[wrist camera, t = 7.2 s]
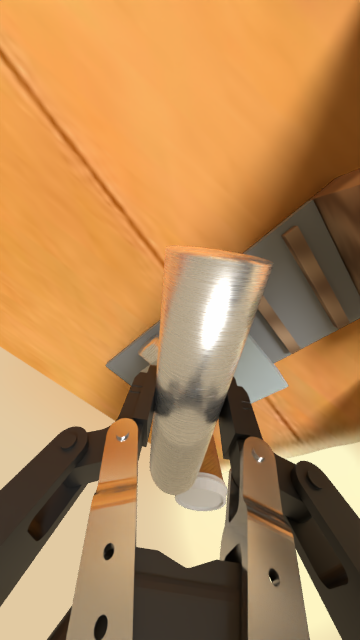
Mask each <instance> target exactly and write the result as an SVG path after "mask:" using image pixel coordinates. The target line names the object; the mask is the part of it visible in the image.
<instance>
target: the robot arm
mask: <svg viewBox="0 0 360 640" xmlns="http://www.w3.org/2000/svg"><path fill="white" fill-rule="evenodd" d="M156 372H157V366H156V365H150V366H149V369H148V372H147V373H145V372H140V373H139V374H138V375H137V376H136V377H135V378H134V380H133V383H132V386H131V388H130V390H129V393H128V395H127V398H126V400H125V403H124V405H123V407H122V410H121V412H120V415H119V417H118V419H117V420H116V421H115V422H114V423H113V424H112V425H111V426H109V427H107V428H105V429H102V430H97V431H92V432H86V431H85V429H83V428H81V427H71V428H68V429H66V430H64V431H62V432H61V433H60V434H59V435H57V436H56V437H55V438H54V439H53V440H52V441H51V442H50V443H49V444H48V445H47V446H46V447H45V448H44V449H43V450H42V451H41V452H40V453H39V454H38V455H37V456H36V457H35V458H34V459H33V460H31V461H30V463H28V464H27V465H26V466H25V467H24V468H23V469H22V470H21V471H20V472H19V473H18V474H17V475H16V476H15V477H14V478H13V479H12V480H11V481H10V482H9V483H8V484H7V485H5V487H3V488H2V489H1V490H0V606H1V605H2V604H3V602H4V600H5V599H6V598H7V597H8V595H9V594H10V592H11V591H12V590H13V588H14V587H15V585H16V584H17V582H18V581H19V580H20V578H21V577H22V575H23V574H24V573H25V571H26V570H27V568H28V567H29V566H30V564H31V563H32V561H33V560H34V559H35V557H36V556H37V554H38V553H39V551H40V550H41V549H42V547H43V546H44V545H45V543H46V542H47V540H48V539H49V537H50V536H51V535H52V533H53V532H54V530H55V529H56V528H57V526H58V525H59V523H60V522H61V520H62V519H63V518H64V516H65V515H66V514H67V512H68V511H69V509H70V508H71V507H72V505H73V504H74V502H75V501H76V499H77V498H78V497H79V495H80V494H81V492H82V491H83V490H84V488H85V487H86V485H87V484H88V483H91V482H94V481H98V480H99V481H98V487H97V490H96V493H95V494H94V496H93V500H92V504H91V508H90V514H89V519H88V524H87V529H86V535H85V540H84V546H83V551H82V556H81V562H80V567H79V572H78V578H77V583H76V588H75V594H74V599H73V605H72V606H71V608H70V609H69V611H68V612H67V613H66V615H65V616H64V617H63V619H62V620H61V621H60V623H59V624H58V625H57V627H56V628H55V630H54V631H53V632H52V634H51V635H50V636H49V638H48V639H47V640H310V638H309V632H308V625H307V619H306V613H305V607H304V600H303V594H302V587H301V581H300V575H299V568H298V562H297V556H296V550H297V552H298V554H299V556H300V558H301V560H302V562H303V564H304V566H305V568H306V569H307V571H308V574H309V575H310V577H311V579H312V581H313V583H314V585H315V587H316V589H317V591H318V593H319V595H320V597H321V599H322V601H323V603H324V604H325V607H326V608H327V611H328V612H329V615H330V617H331V619H332V621H333V622H334V624H335V626H336V628H337V630H338V632H339V634H340V636H341V638H342V640H360V518H359V517H358V516H357V515H356V513H355V512H354V511H353V509H352V508H351V507H350V506H349V504H348V503H347V502H346V501H345V500H344V498H343V497H342V495H341V494H340V493H339V492H338V490H337V489H336V488H335V486H333V484H332V483H331V481H330V480H329V479H328V477H327V476H326V475H325V474H324V473H323V472H322V471H321V470H320V469H319V468H318V467H317V466H315V465H314V464H312V463H310V462H307V461H300V462H298V463H297V464H293V463H292V462H290V461H288V460H286V459H284V458H282V457H280V456H278V455H276V454H275V453H274V452H273V451H272V449H271V448H270V447H269V445H268V444H267V443H266V442H264V441H263V438H262V436H261V433H260V430H259V427H258V424H257V421H256V417H255V414H254V411H253V408H252V405H251V404H250V399H249V396H248V393H247V392H246V391H245V389H244V388H243V387H242V386H237V383H236V379H235V377H233V378H232V381H231V384H230V387H229V390H228V392H227V395H226V398H225V401H224V403H223V406H222V409H221V412H220V415H219V417H218V419H219V427H220V435H221V443H222V451H223V459H229V460H230V464H231V469H230V471H229V481H228V494H227V507H226V508H227V509H226V520H225V527H224V531H223V535H222V541H221V551H220V560H214V561H211V562H208V563H205V564H201V565H198V566H195V567H192V568H185V567H183V566H182V565H180V564H178V563H177V562H175V561H174V560H172V559H171V558H169V557H167V556H166V555H164V554H163V553H161V552H160V551H157V550H151V549H144V548H138V547H136V526H137V520H136V519H137V477H138V460H139V456H140V451H141V448H142V446H144V447H146V446H147V442H148V437H149V433H150V428H151V424H152V419H153V415H154V408H155V394H156ZM295 548H296V550H295ZM269 577H270V578H271V581H272V583H271V581H270V579H269Z"/></svg>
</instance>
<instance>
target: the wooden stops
mask: <svg viewBox="0 0 360 640" xmlns="http://www.w3.org/2000/svg"><path fill="white" fill-rule="evenodd" d="M310 200H313V201H314V203H315V205H316V207H317V209H318V211H319V213H320V215H321V217H322V219H323V222H324V224H325V226H326V228H327V230H328V232H329V234H330V236H331V238H332V240H333V242H334V244H335V246H336V248H337V250H338V253H339V255H340V257H341V259H342V261H343V263H344V265H345V267H346V269H347V271H348V273H349V275H350V277H351V279H352V281H353V284H354V286H355V288H356V290H357V292H358V294H359V296H360V169H358V170H355V171H353V172H350V173H347V174H345V175H342V176H340V177H337V178H336V179H334V180H333V181H332V182H331V183H329V184H328V185H327V186H326V187H325V188H323V189H322V190H321V191H320V192H318V193H317V194H316V195H315V196H313V197H312V198H311V199H310ZM281 236H282V238H283V240H284V241H285V243H286V245H287V247H288V248H289V250H290V252H291V253H292V255H293V257H294V259H295V260H296V262H297V264H298V265H299V267H300V269H301V271H302V272H303V274H304V276H305V277H306V279H307V281H308V283H309V284H310V286H311V288H312V289H313V291H314V293H315V295H316V296H317V298H318V300H319V301H320V303H321V305H322V307H323V308H324V310H325V312H326V313H327V315H328V317H329V318H330V320H331V322H332V324H333V325H334V326H335V327H336V328H338V329H340V328H342V327H344V326H346V325H348V324H350V322H349V320H348V318H347V316H346V314H345V312H344V311H343V309H342V307H341V305H340V303H339V301H338V299H337V298H336V296H335V294H334V292H333V290H332V288H331V287H330V285H329V283H328V281H327V279H326V277H325V275H324V274H323V272H322V270H321V268H320V266H319V264H318V262H317V261H316V259H315V257H314V255H313V253H312V251H311V249H310V248H309V246H308V244H307V242H306V240H305V238H304V236H303V235H302V233H301V231H300V229H299V227H298V226H293V227H291V228H290V229H289V230H287V231H286V232H285V233H284V234H282V235H281ZM258 310H259V311H260V313H261V314H262V315H263V317H264V318H265V319H266V321H267V322H268V323H269V325H270V326H271V328H272V329H273V330H274V332H275V333H276V334H277V336H278V337H279V338H280V340H281V341H282V342H283V344H284V345H285V346H286V348H287V349H288V350H289V352H290V353H291V354H293V353H295V352H297V351H298V350H300V349H301V348H300V347H299V346H298V344H297V343H296V341H295V340H294V338H293V337H292V336H291V334H290V333H289V331H288V330H287V329H286V327H285V326H284V324H283V323H282V322H281V320H280V319H279V317H278V316H277V314H276V313H275V312H274V310H273V309H272V307H271V306H270V305H269V303H268V302H267V300H266V299H265V297H264V296H263V295H262V298H261V300H260V303H259V306H258Z"/></svg>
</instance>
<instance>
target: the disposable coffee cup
mask: <svg viewBox="0 0 360 640" xmlns="http://www.w3.org/2000/svg"><path fill="white" fill-rule="evenodd" d="M227 492H228V491H227V487H226V486H225V483H224V481H223V478H222V473H221V469H220V464H219V459H218V455H217V450H216V446H215V441H214V437H213V434H212V437H211V440H210V443H209V445H208V448H207V451H206V454H205V456H204V459H203V462H202V465H201V468H200V470H199V473H198V476H197V479H196V481H195V483H194V484H193V486H192V487H191V488H190V489H189V490H188V491H186V492H184V493H182V494H178V495H175V499H176V502H177V503H178V504H179V505H181V506H183V507H185V508H187V509H191V510H196V511H212V510H217V509H219V508H221V507H223V506H224V505H225V503H226V495H227Z"/></svg>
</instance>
